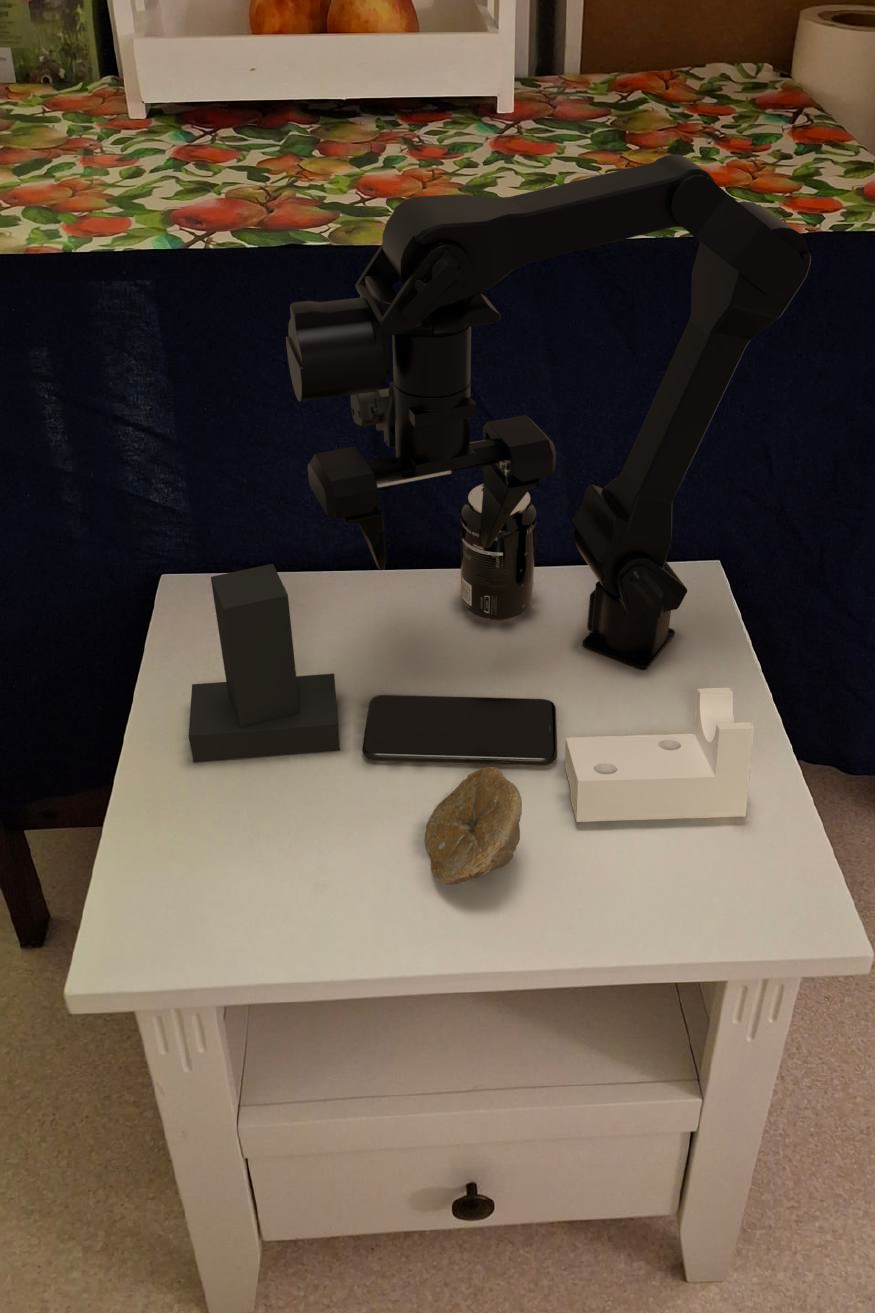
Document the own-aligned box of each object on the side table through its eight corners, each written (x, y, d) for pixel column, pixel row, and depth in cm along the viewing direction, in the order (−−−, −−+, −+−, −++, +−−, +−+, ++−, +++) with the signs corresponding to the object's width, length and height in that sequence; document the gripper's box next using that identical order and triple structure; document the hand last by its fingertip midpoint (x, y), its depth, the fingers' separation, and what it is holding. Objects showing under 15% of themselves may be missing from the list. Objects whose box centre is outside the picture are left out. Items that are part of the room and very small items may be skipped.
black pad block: (286, 680, 103) (273, 563, 96) (300, 713, 100) (288, 594, 92) (228, 694, 102) (210, 576, 94) (240, 728, 99) (223, 608, 91)
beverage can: (513, 579, 120) (517, 472, 112) (544, 617, 115) (550, 508, 107) (449, 595, 118) (449, 487, 110) (478, 634, 113) (480, 524, 105)
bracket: (722, 771, 100) (729, 687, 97) (745, 816, 93) (754, 728, 90) (564, 776, 100) (566, 692, 97) (576, 821, 93) (579, 733, 90)
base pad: (336, 699, 106) (334, 673, 104) (339, 750, 101) (337, 723, 99) (196, 710, 105) (191, 683, 103) (193, 762, 100) (188, 735, 98)
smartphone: (360, 763, 99) (557, 769, 99) (360, 755, 99) (558, 761, 98) (370, 700, 106) (555, 705, 105) (369, 692, 105) (556, 697, 104)
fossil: (487, 744, 93) (529, 815, 84) (525, 773, 95) (569, 845, 86) (408, 826, 94) (440, 904, 85) (446, 853, 96) (482, 932, 87)
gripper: (505, 320, 99) (500, 487, 108) (281, 356, 94) (297, 528, 103) (564, 377, 90) (553, 553, 100) (322, 420, 85) (335, 600, 95)
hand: (433, 556), depth 100 cm, fingers open, 9 cm apart
